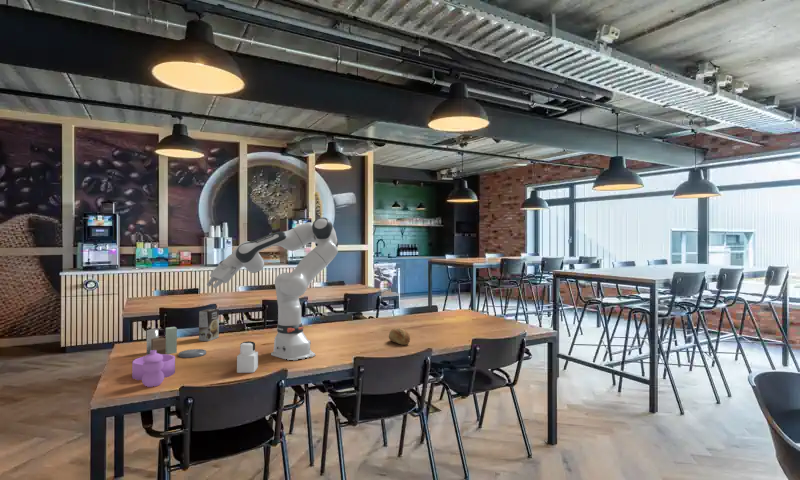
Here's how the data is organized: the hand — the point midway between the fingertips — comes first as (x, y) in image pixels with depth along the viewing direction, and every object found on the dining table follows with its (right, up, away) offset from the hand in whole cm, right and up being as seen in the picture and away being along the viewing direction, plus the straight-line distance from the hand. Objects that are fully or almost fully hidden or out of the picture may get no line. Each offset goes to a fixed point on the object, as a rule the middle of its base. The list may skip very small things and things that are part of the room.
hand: (210, 286), depth 220 cm
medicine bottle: (+30, -32, -33) cm, 55 cm away
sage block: (-16, -31, -7) cm, 36 cm away
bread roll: (+95, -33, +17) cm, 102 cm away
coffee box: (-10, -31, +21) cm, 39 cm away
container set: (-4, -32, -45) cm, 55 cm away
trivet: (-4, -31, -10) cm, 33 cm away
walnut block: (-17, -31, -17) cm, 40 cm away
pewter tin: (-25, -31, -8) cm, 41 cm away
